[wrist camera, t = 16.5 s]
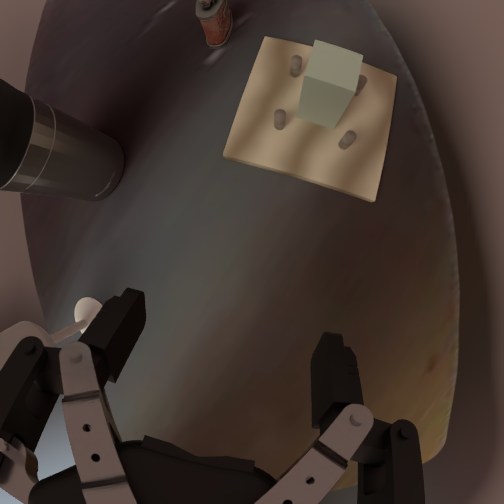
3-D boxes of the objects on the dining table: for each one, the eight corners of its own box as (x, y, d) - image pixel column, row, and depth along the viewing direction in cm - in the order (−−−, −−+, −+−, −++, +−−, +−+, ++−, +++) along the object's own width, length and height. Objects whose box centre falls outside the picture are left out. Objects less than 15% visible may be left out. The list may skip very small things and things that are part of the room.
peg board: (224, 158, 33) (216, 147, 28) (265, 42, 31) (263, 20, 26) (370, 202, 32) (386, 198, 27) (393, 81, 30) (406, 64, 25)
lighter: (228, 49, 31) (215, 3, 21) (203, 49, 32) (185, 5, 22) (235, 11, 31) (226, -34, 21) (213, 12, 31) (199, -31, 21)
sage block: (333, 129, 30) (355, 92, 20) (296, 117, 30) (304, 75, 20) (341, 98, 30) (363, 55, 20) (305, 86, 30) (315, 39, 20)
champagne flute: (117, 320, 35) (-15, 400, 11) (98, 350, 36) (-17, 431, 12) (85, 287, 35) (-55, 335, 11) (68, 318, 36) (-54, 375, 12)
